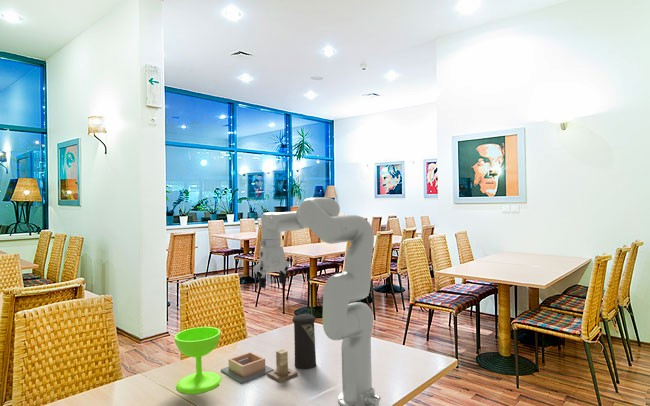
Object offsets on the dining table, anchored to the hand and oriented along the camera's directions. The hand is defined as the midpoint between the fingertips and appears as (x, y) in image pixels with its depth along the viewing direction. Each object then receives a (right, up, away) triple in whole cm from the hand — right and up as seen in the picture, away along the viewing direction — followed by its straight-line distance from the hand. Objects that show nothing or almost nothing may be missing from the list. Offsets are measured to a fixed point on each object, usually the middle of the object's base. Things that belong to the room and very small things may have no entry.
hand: (272, 285), depth 163 cm
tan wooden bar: (+5, -31, -13) cm, 34 cm away
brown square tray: (+5, -31, -13) cm, 34 cm away
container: (+13, -31, -4) cm, 34 cm away
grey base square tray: (-9, -32, -9) cm, 34 cm away
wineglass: (-24, -32, -17) cm, 44 cm away
